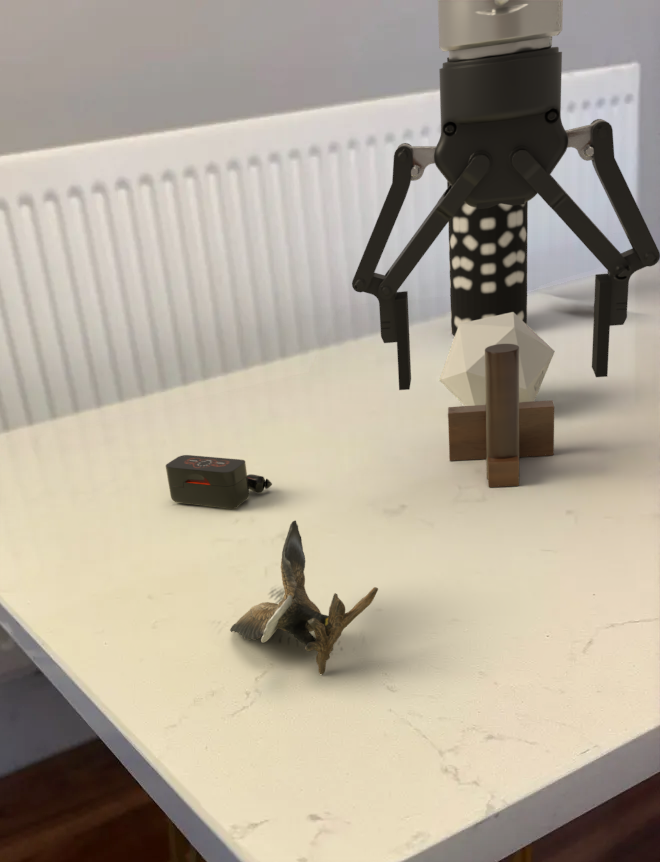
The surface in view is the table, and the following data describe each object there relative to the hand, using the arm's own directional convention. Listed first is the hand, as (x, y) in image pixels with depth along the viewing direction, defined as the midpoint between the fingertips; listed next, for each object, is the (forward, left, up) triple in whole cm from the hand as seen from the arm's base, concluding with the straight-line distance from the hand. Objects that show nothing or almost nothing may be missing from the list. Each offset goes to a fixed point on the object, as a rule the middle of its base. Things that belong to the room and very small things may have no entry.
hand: (500, 378), depth 75 cm
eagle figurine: (+24, +13, -8) cm, 28 cm away
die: (-9, -14, -8) cm, 18 cm away
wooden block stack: (-1, -2, -8) cm, 8 cm away
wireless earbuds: (+19, -11, -8) cm, 23 cm away
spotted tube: (-25, -38, -8) cm, 46 cm away
